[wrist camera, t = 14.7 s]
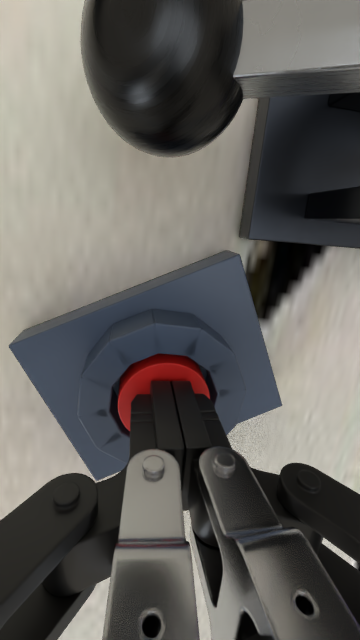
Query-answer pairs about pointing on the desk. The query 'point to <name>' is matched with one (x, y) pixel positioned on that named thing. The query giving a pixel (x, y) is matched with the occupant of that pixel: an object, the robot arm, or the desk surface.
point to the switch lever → (210, 62)
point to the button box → (150, 353)
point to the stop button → (156, 379)
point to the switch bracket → (305, 171)
